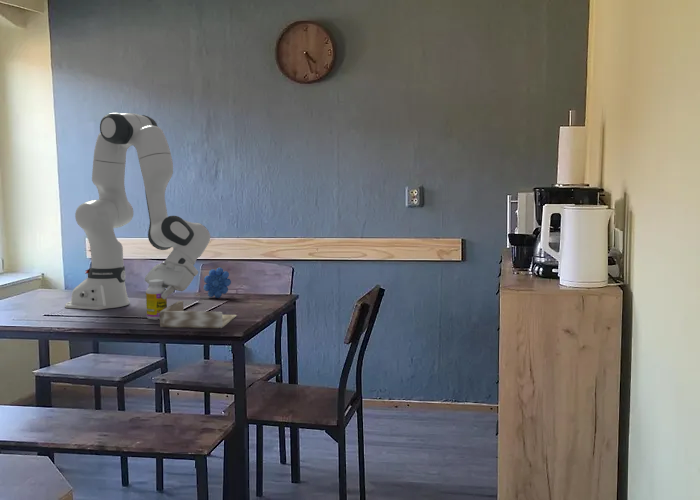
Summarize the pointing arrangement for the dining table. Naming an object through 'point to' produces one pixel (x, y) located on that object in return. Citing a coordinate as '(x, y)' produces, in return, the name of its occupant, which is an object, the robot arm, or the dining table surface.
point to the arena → (192, 318)
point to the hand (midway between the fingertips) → (154, 296)
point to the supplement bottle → (155, 299)
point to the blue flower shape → (217, 282)
